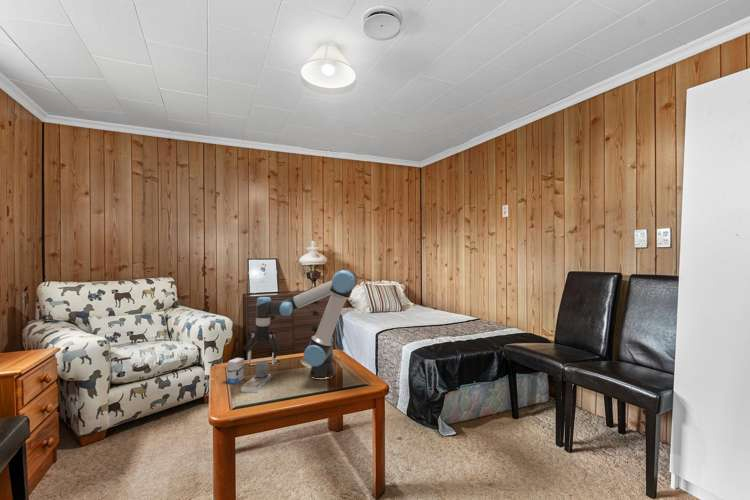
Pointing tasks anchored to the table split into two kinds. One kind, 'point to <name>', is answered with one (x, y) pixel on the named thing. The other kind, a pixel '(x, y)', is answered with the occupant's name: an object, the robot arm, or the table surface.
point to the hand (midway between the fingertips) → (261, 363)
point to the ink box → (235, 370)
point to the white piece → (255, 384)
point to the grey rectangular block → (261, 369)
